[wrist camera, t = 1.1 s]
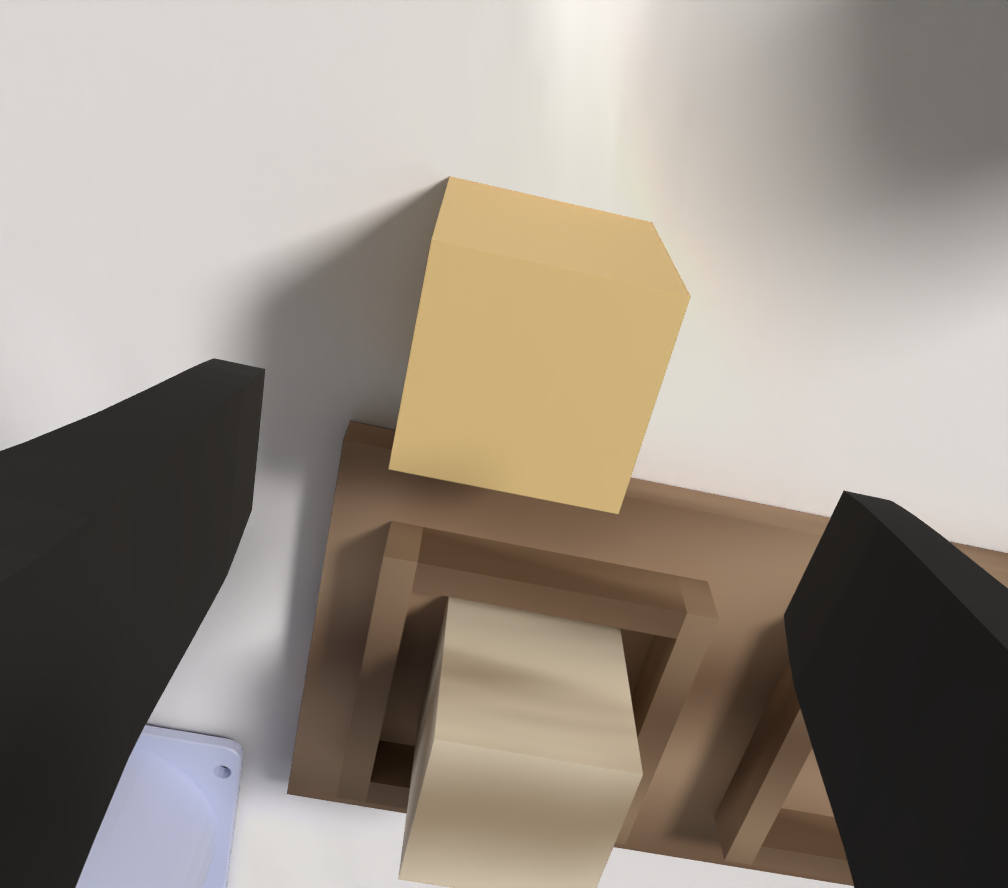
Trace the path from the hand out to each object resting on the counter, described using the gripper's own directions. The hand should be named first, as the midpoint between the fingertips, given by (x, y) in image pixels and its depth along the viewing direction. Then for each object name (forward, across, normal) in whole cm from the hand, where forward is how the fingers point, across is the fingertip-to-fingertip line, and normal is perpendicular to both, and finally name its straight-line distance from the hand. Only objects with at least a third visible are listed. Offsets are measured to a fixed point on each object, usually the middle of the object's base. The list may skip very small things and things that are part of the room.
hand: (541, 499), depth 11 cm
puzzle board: (+10, -13, +11) cm, 20 cm away
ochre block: (+10, 0, +1) cm, 10 cm away
